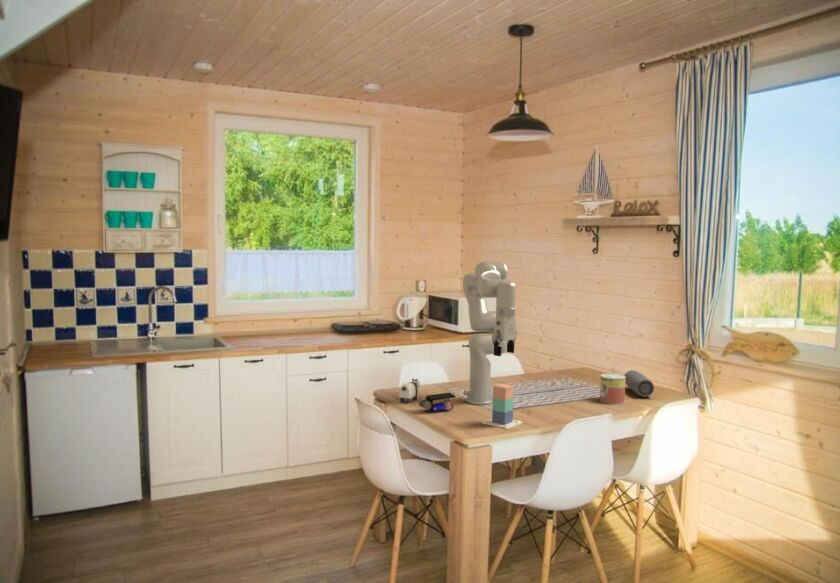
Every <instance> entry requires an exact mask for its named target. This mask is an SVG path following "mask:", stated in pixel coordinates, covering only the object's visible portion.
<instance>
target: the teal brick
mask: <svg viewBox="0 0 840 583" xmlns="http://www.w3.org/2000/svg"><path fill="white" fill-rule="evenodd" d="M492 399H493V403H492V411H493V410H495V411H499V412H504V413H505V412H508V411H511V410H513V411H514V397H513V398H511V399H508V400H501V399H496V398H493V397H492Z"/></svg>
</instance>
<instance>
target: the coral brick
mask: <svg viewBox="0 0 840 583" xmlns="http://www.w3.org/2000/svg"><path fill="white" fill-rule="evenodd" d="M514 389H515V386H514V385H513V384H512V385H511V384H506V383H499V384H495V385H493V386H492V399H493V398H496V399H501V400H508V399H511V398H513V399H514V393H515V391H514Z"/></svg>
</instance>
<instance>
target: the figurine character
mask: <svg viewBox="0 0 840 583" xmlns="http://www.w3.org/2000/svg"><path fill="white" fill-rule="evenodd" d="M454 398H456V395H454V393H452V392H449V391H448V392H444V393H436V394H429V395H426V397H425V398H421V399H420V400H419V401H418V406H419V407H421V408H424V409H425V410H424V412H426V413H427V414H430V413H434V412H437V411H442V410H445V411H448V412H449V411H452V410H453V409H454V407H455V403H454V401H453V400H452V399H454ZM438 400H444V401H442V402H437V403H434V401H438Z"/></svg>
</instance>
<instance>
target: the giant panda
mask: <svg viewBox="0 0 840 583" xmlns="http://www.w3.org/2000/svg"><path fill="white" fill-rule="evenodd" d="M420 387H421V383H420V381H419V380H418V378H412V380H411V382H404V383H402V384H401V386H400V387H399V391H398V396H399V403H402V404H403V403H406V404H411V403H412V401H413V402H416V401H418V392H419V391H418V390H419V388H420ZM411 399H412V401H411ZM405 400H406V402H405Z"/></svg>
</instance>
